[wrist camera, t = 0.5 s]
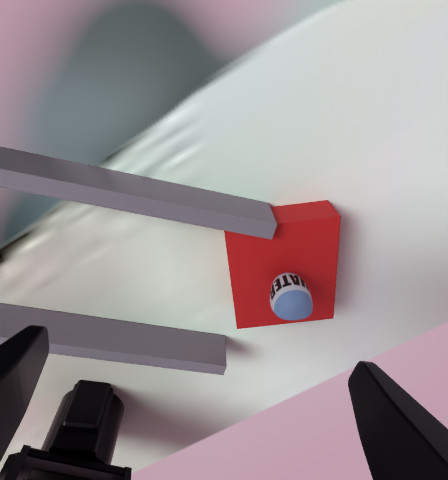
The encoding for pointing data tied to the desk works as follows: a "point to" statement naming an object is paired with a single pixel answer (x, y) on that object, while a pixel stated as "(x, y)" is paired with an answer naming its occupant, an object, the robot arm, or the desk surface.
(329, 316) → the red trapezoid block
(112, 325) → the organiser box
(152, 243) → the desk surface
